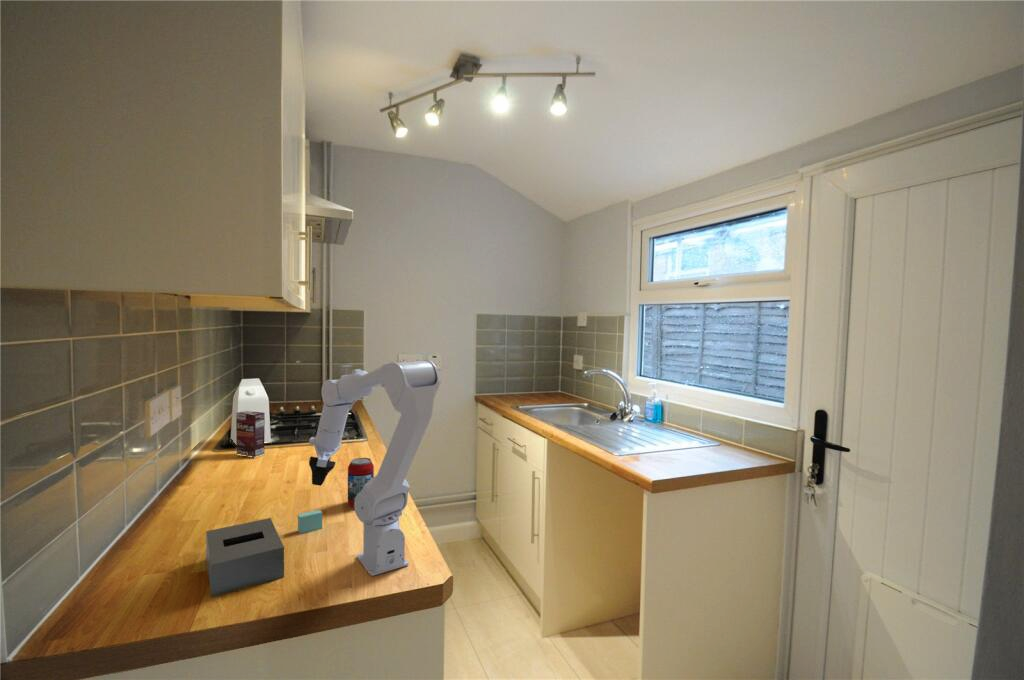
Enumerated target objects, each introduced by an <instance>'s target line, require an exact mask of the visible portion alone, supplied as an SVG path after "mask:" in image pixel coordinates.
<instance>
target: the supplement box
mask: <svg viewBox="0 0 1024 680" xmlns="http://www.w3.org/2000/svg"><path fill="white" fill-rule="evenodd" d="M264 428H265V413H263V412H253V411H243V412H239V413H236V442H237V443H236V444H237V450H236V455H237V454H241V455H246V456H252V457H256V456H260V455H263V454H264V455H265V446H264V432H265V429H264ZM264 455H263V456H264Z"/></svg>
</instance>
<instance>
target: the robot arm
mask: <svg viewBox="0 0 1024 680" xmlns="http://www.w3.org/2000/svg"><path fill="white" fill-rule="evenodd" d="M441 382H442V381H441V378H440V374H439V370H438V368H437V366H436V364H435V363H434V362H433V361H432V360H429V359H423V360H419V361H418V360H417V361H405V362H404V361H403V362H395V361H393V362H389V363H384V364H382V366H379V367H377V368H375V369H373V370H371V371H369V372H368V371H366V370H362V369H361V368H357V369H352V370H351V373H350V374H343V375H341V376H340V378H339V379H327V380H326V381H324V383H323V384H322V386H321V399H322V401H323V406H322V410H321V415H320V418H319V422H318V426H317V432H316V435H315V436H311V437H310V439H309V441H308V444H309V445H313V446H314V451H315V453H316V455H317V457H316V456H310V458H309V460H308V465H309V467H310V468H309V469H310V470H311V484H312V485H313V486H321V487H322V485H323V484H324V482H325V480H326V478H327V476H328V474H329V473H330V472H331V471H332V470H333V469H334V468H335V466H336V463H337V462H336V461H332V460H331V458H332V457H333V455H334V454H336V453H337V452H338V451H339V450H340V449H341V446H342V438H343V435H344V431H345V427H346V423H347V419H348V416H349V413H350V412H349V411H351V410H352V409H353V405H354V404H355V403H356V402H357V401H358V400H359V399H362V398H366V397H368V396H370V395H371V394H372V393H373V392H374V390H375V388H377V387H382V388H384V390H385V392H386V394H387V396H388V399H389V400H390V403H391V404H392V407H393V409H394V410H395V411H396V412H398V413H400V418H399V420H398V422H397V425H396V427H395V430H394V433H393V435H392V438H391V440H390V442H389V444H388V446H387V450H386V451H385V455H384V457H383V459H382V462H381V464H380V467H379V469H378V471H377V474H376V475H374V478H373V479H371V480H370V481H369V482H368V483H366V484H365V485H364V487H363V489H362V491H361V492H360V493H358V494H357V496H356V498H355V502H354V507H353V509H354V512H355V515H356V517H357V519H358V520H359V521H360V522H362V523H363V534H362V535H363V538H362V539H363V545H362V546H363V547H362V548H363V549H362V550H363V551H362V552H360V553H357V554H356V558H357V559H358V560H359V562H360V563H361V564H362V565H363V567H364V569H365V570H366V571H367V572H368V574H369V575H370V576H372V577H373V576H377V575H380V574H383V573H386V572H389V571H390V572H391V571H393V570H396V569H399V568H402V567H406V566H408V565H409V564H410V562H409V561H408V560H407V559H406V558H405V554H406V553H405V548H406V547H405V546H406V544H405V543H406V539H405V534H404V532H403V530H402V529H401V527H400V517H401V516H402V515H403V510H405V509H406V507H407V504H408V497H409V496H408V495H409V491H410V489H411V487H410V485H409V482H408V481H407V480H406V477H407V474H408V473H409V470H410V468H411V465H412V462H413V461H414V459H415V456H416V454H417V451H418V450H419V446H420V445H421V442H422V440H423V437H424V435H425V432H426V431H427V429H428V426H429V424H430V421H431V419H432V415H433V409H434V402H435V397H436V395H437V392H438V390H439V387H440V385H441Z"/></svg>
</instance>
